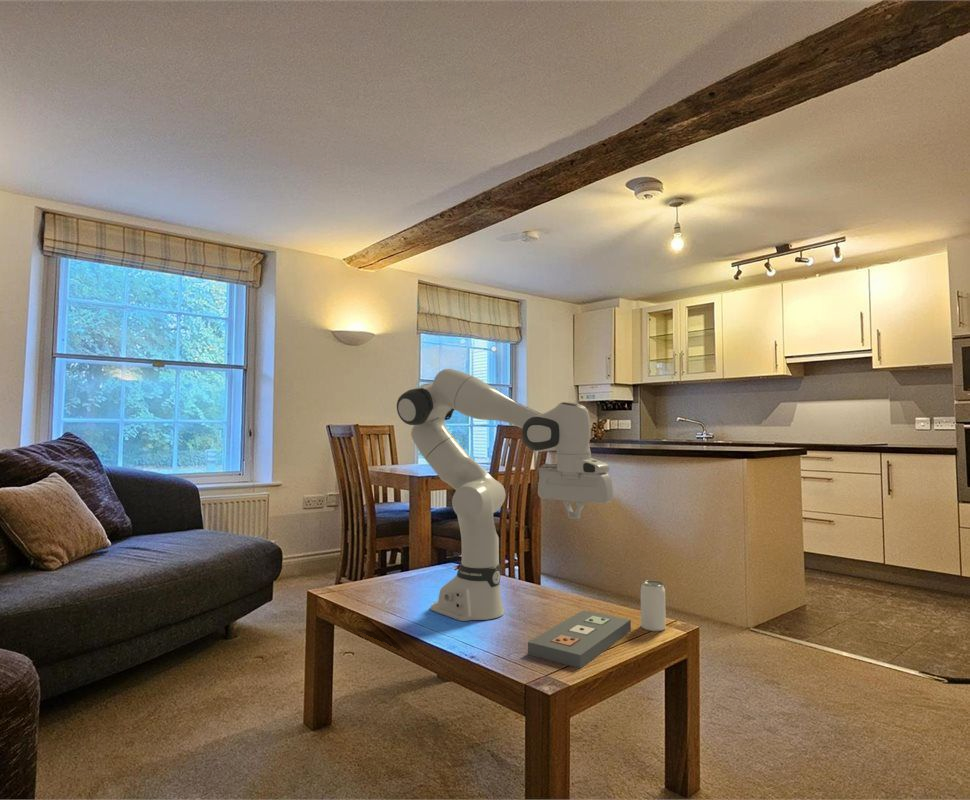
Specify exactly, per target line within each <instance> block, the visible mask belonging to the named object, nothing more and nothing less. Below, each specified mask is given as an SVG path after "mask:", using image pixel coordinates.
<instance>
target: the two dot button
mask: <svg viewBox="0 0 970 800" xmlns="http://www.w3.org/2000/svg"><path fill="white" fill-rule="evenodd" d="M609 621H610V619H606V618H601V617H596V616H591V617H590V618H588V619H586V620H585V621H584V622H588V623H592V624H597V625H602V626H603V625H604V624H606V623H607V622H609Z"/></svg>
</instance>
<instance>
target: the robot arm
mask: <svg viewBox="0 0 970 800" xmlns="http://www.w3.org/2000/svg"><path fill="white" fill-rule="evenodd" d="M396 411H397V415H398V417H399V419H400V420H401V421H402V422H403V423H405V424H407V425H408V426H412V428H411V431H410V436H411V438H412V440H413V443H414V445H415V447H416V448H417V450H418V452H419V453H420V454H421V456H422V457H423V458H424V460H425V461H426V463H428V465H429V466H430V468H431V469H432V470H433V472H435V474H436V475H437V476H438V477H439V479H440V480H441V481H442V482H444V483H446V484H448V485H449V486H450V487H452V488H453V489H454V490H455V492H454V493H453V496H452V499H451V503H452V504H451V505H452V508H453V511H454V513H455V515H456V516H457V523H458V525H459V526H458V527H459V531H460V538H461V539H460V540H461V562H460V563H458V565H455V566H453V567H454V569H453V570H454V571H456V570H457V572H456V575H455V576H454V577H453V578H452V579H450V580H449V581H448V582H446V583H445V584H444V585H442V587H441V588H440V591H439V594H438V600H437V601H434V603H432V604H431V605H430V610H431V611H433V612H435V613H438V614H441V615H443V616H446V617H449V618H452V619H454V620H456V621H457V620H458V621H459V622H467V621H482V620H483V621H484V620H485V621H486V620H492V619H497V618H500V617H502V616H503V615H504V614H505V609H504V605H503V601H502V600H503V599H502V594H501V587H500V586H501V584H500V583H501V564H500V552H499V551H500V547H499V546H500V538H499V535H498V533H497V531H496V530H497V529H496V525H495V520H494V513H496V512H498V511H499V510H500V508H501V507H502V506H504V505H503V504H504V503H505V502H506V501H505V500H506V495H507V493H506V489H505V488H504V485H503V484H502V483H501V482H500V481H498V480H496V479H495V478H494V477H493V476H492V475H491V474H490V473H489V472H488V471H486V469H484V468H483V466H481V465H480V464H479V463H478V462H476V461H475V460H474V459H473V458H472V457H471V456H470V455H469V453H468V452H467V451H466V450H465V449H464V448H463V446H462V445H461V444H460V442H458V440H457V439H456V438H455V437H454V435H453V434H452V433H451V432H450V431H449V429H447V426H446V424H445V421H448V420H450V419H451V418H452V416H453V413H454V411H456V412H458V413H460V414H462V415H464V416H466V417H470V418H473V419H477V420H485V421H497V422H498V421H500V422H504V423H507V424H508V423H509V424H511V425H513V426H515V427H518V428H519V429H521V439H522V441H523V444H524V445H525V446H526V447H527V448H528V449H530V450H532V451H535V452H551V451H552V452H556V463H550V464H549V463H543V465H540V467H539V468H538V477H539V478H538V483H537V496H538V497H539V498H540V499H543V500H544V499H545V500H546V499H547V500H556V501H557V500H558V501H563V506H564V508H565V510H566V512H567V519H574V520H580V519H581V518H582V512H583V509H584V507H585V505H586V503H592V504H593V503H594V504H609V503H610V502H612V500H613V499H614V492H613V490H614V489H613V483H612V481H613V480H612V478H611V476H610V474H608V473H609V471H610V465H609V464H608V463H605V462H603V461H600V460H598V459H596V458H592V452H591V447H590V443H591V442H590V440H591V437H592V433H591V431H592V430H591V428H592V427H591V418H590V412H589V410H588V408H587V407H586V406H585V405H583V404H580V403H579V404H578V403H572V402H565V401H564V402H560V403H558V405H556V406H555V407H554V408H552V409H550V410H549V411H546V412H544V413H541V412H538V411H536V410H534V409H533V408H530V407H528V406H526V405H523V404H521V403H519V402H517V401H515V400H513V399H511V398H510V397H508V396H507V395H505V394H504V393H502V392H500V391H498V390H497V389H496V388H495V387H493V386H491V385H490V384H488V383H486V382H484V381H483V380H481V379H479V378H477V377H475V376H473V375H471V374H469V373H467V372H463V371H460V370H457V369H453V368H444V369H442V370H440V371H439V372H438V373H437V374H436V375H435V377H434V379H433V381H432V382H428V383H425V384H422V385H420V386H418V387H415V388H411V389H409V390H407V391H405V392H404V393H402V394H401V395H400V396H399V397H398V399H397V401H396ZM573 502H576V503H575V504H576V506H577V508H576V509H575V510H573V507H572V506H571V505H573Z"/></svg>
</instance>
